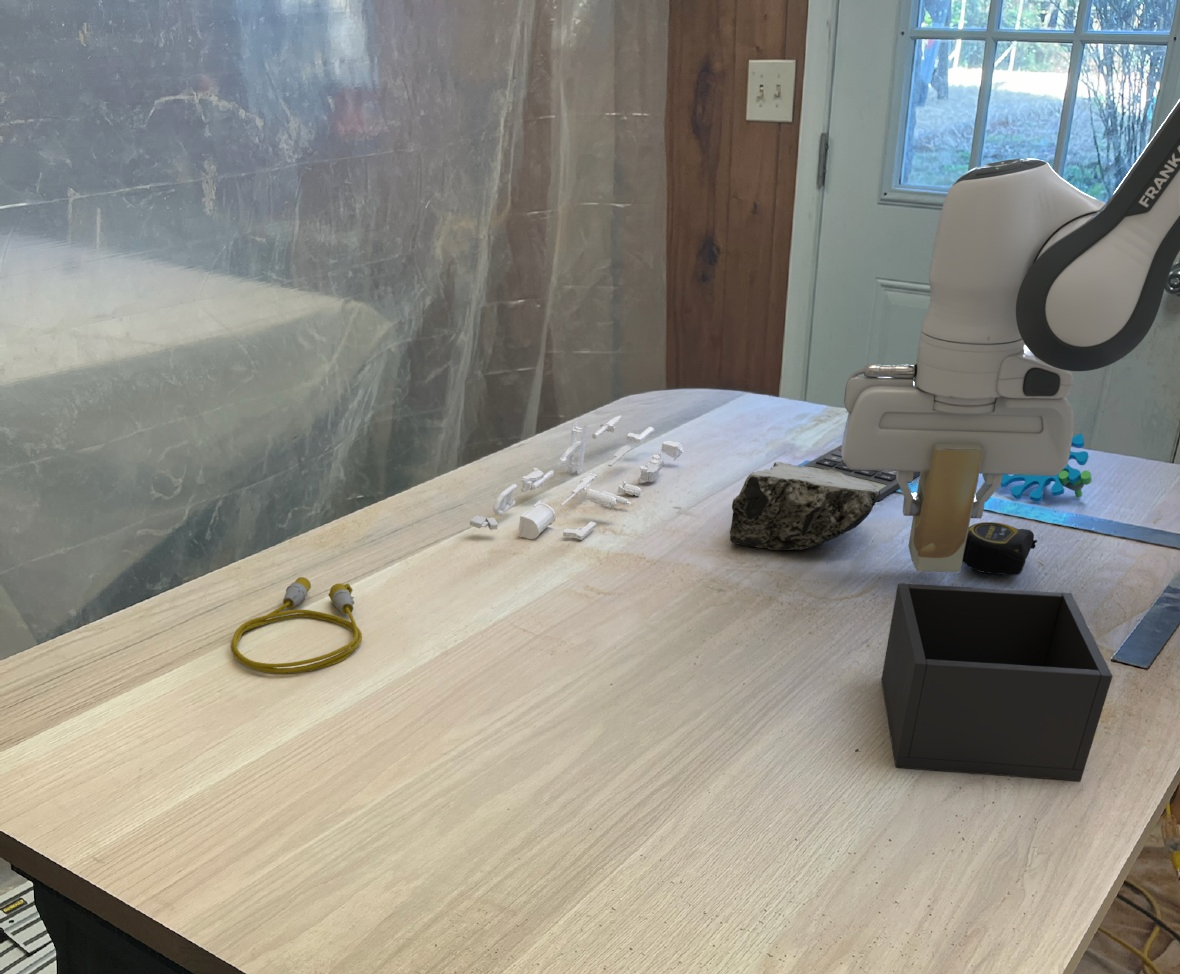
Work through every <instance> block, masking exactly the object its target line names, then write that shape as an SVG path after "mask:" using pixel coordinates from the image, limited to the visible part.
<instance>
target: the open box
mask: <svg viewBox="0 0 1180 974" xmlns="http://www.w3.org/2000/svg"><path fill="white" fill-rule="evenodd" d="M892 609H893V610H892V616H891V619H890V620H891V621H890V625H889V632H888V638H887V643H886V650H885V656H884V661H883V667H882V673H881V686H882V692H883V698H884V705H885V710H886V716H887V717H886V718H887V723H888V729H889V735H890V740H891V747H892V753H893V759H894V766H895V768H896V769H897V768H901V769H911V770H925V771H940V772H954V773H964V774H965V773H966V774H968V773H969V774H979V775H980V774H981V775H992V776H993V775H995V776H1005V777H1007V776H1008V777H1021V778H1033V779H1046V780H1047V779H1048V780H1049V779H1050V780H1060V781H1061V780H1062V781H1076V782H1081V780H1082V778H1083V775H1084V772H1085V768H1086V765H1087V762H1088V759H1089V755H1090V752H1091V749H1092V746H1093V742H1094V739H1095V735H1096V732H1097V729H1098V726H1099V722H1100V719H1101V716H1102V713H1103V710H1104V706H1105V703H1106V699H1107V696H1108V694H1109V689H1110V687H1111V684H1112V680H1113V674H1112V671H1111V670H1110V667H1109V666H1108V664H1107V662H1106V660H1105V658H1104V656H1103V653H1102V652H1101V650H1100V648H1099V645H1098V644H1097V642H1096V640H1095V638H1094V636H1093V634H1092V632H1091V629H1090V627H1089V626H1088V624H1087V622H1086V620H1085V618H1084V616H1083V614H1082V611H1081V610H1080V608H1079V606H1078V603H1077V602H1076V599H1075V598H1074V596H1073V594H1072V593H1071V592H1058V591H1043V590H1042V591H1041V590H1023V589H1009V588H1008V589H1006V588H990V587H988V588H987V587H972V586H971V587H970V586H957V585H955V586H954V585H938V584H937V585H936V584H923V583H922V584H921V583H920V584H919V583H907V582H898V583H897V586H896V591H895V597H894V603H893V608H892Z"/></svg>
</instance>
